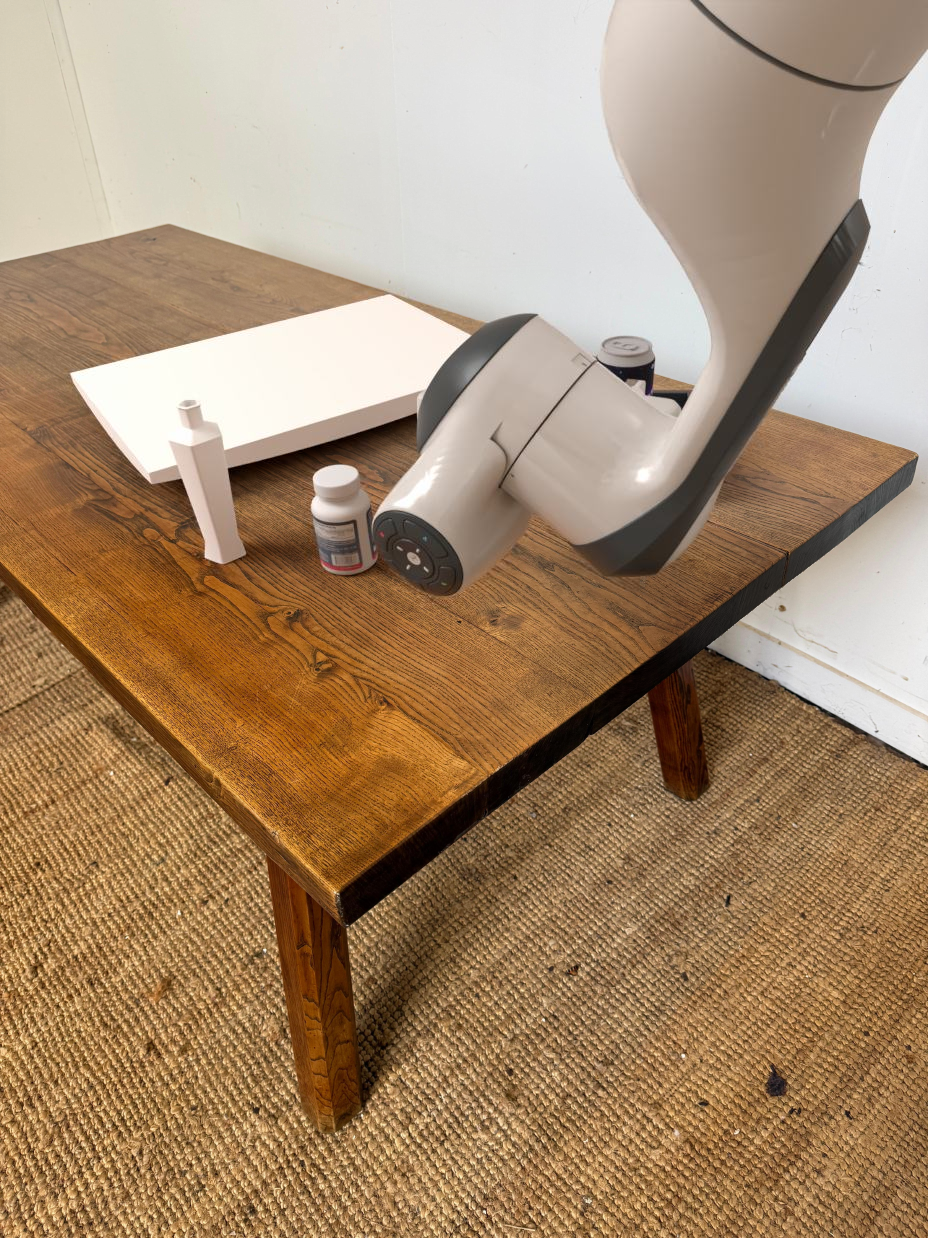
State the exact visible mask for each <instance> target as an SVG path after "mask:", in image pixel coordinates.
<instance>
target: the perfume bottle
mask: <svg viewBox="0 0 928 1238" xmlns="http://www.w3.org/2000/svg"><path fill="white" fill-rule="evenodd" d="M200 405H201V402H200V400H199V399H198V398H195V399H183V400H181V401H180V402H179V403H177V404H176V405H175V407H176V408H177V409H178V412H179V416H180V420H181V424H182V426H181V427H180V428H179V429H178V430H177V431H176V432H175V433H174V434H172V435H171V436H170V437H169V438H168V441H169V444H170V447H171V449H172V452H173V455H174V458H175V460H176V463H177V466H178V469H179V471H180V474H181V477H182V478H181V480H182V482H183V485H184V488H185V490H186V491H185V492H186V494H187V496H188V499H189V502H190V505H191V507H192V510H193V513H194V516H195V518H196V521H197V524H198V527H199V529H200V532H201V535H202V537H203V540H204V559H206V560H209V561H212V562H214V563H218V564H220V565H225V564H229V563H230V562H233V561H235V560H237V559H239V558H242V557H244V556H246V555H247V552H246V549H245V545H244V543H243V542H242V539H241V538H240V536H239V535H240V534H239V531H238V526H237V518H236V513H235V505H234V501H233V500H234V499H233V493H232V489H231V482H230V477H229V475H230V474H229V470H228V469H229V468H227V463H226V457H225V451H224V445H223V439H222V434H221V431H220V429H219V426H218V424H217V423H216V422H210V421H204V420H203V416H202V412H201V408H200Z"/></svg>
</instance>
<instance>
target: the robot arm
mask: <svg viewBox="0 0 928 1238" xmlns="http://www.w3.org/2000/svg"><path fill="white" fill-rule="evenodd" d="M603 37H604V38H603V43H602V47H601V52H600V60H599V71H598V73H599V74H598V75H599V76H598V77H599V80H598V82H599V93H600V101H601V109H602V116H603V120H604V125H605V129H606V133H607V136H608V137H607V138H608V141H609V144H610V147H611V150H612V153H613V156H614V159H615V161H616V163H617V166H618V168H619V170H620V172H621V176H622V177H623V179H624V181H625V183H626V185H627V187H628V189H629V190H630V192H631V194H632V196H633V198H634V200H635V201H636V202H637V204H638V205H639V206H640V207H641V209H642V210H643V212H644V213H645V214H646V216H647V217H648V218H649V220H650V221H651V223H652V224H653V226H654V227H655V228H656V230H657V231H658V233H659V234H660V236H661V237H662V238H663V240H664V242H665V243H666V244H667V246H668V247H669V249H670V250H671V252H672V253H673V255H674V257H675V258H676V260H677V261H678V263H679V265H680V267H681V268H682V270H683V272H684V274H685V275H686V277H687V279H688V281H689V283H690V284H691V286H692V288H693V291H694V292H695V294H696V296H697V299H698V301H699V303H700V305H701V307H702V310H703V313H704V315H705V318H706V321H707V325H708V328H709V333H710V353H709V356H708V359H707V361H706V363H705V365H704V368H703V369H702V372H701V373H700V375H699V377H698V379H697V381H696V382H695V384H694V387H693V388H692V389H691V390H692V392H691V394H690V396H689V398H688V400H687V402H686V404H685V405H684V407H683V409H682V411H681V407H680V406H679V405H678V404H677V403H676V402H675V401H674V400H672V399H667V398H660V397H653V396H646V395H645V386H646V382H645V381H642V380H635V379H627V382H623V381H622V380H621V379H620V378H618V377H617V376H616V375H614V374H613V373H612V372H611V371H609V370H608V369H607V368H606V367H604V366H603V365H602V364H601V363H599V362H598V361H597V359H596V357H595V356H593V355H592V354H591V353H589V352H588V351H587V350H586V349H584V348H583V347H582V346H581V345H579V344H578V343H577V342H575V341H574V340H573V339H572V338H570V337H569V336H568V335H566V334H565V333H564V332H562V331H561V330H560V329H559V328H557V327H556V326H555V325H554V324H552V323H551V322H549V321H547V320H546V319H545V318H543V317H541V316H540V315H539V313H533V312H530V313H529V312H528V313H526V312H525V313H516V314H513V315H507V316H505V317H501V318H498V319H495V320H491V321H489V322H487V323H485V324H483V326H481V327H480V328H479V329H477V330H476V331H475V332H474V333H473V334H470V335H471V336H470V337H469V338H468V339H467V340H466V341H465V342H464V343H463V344H462V345H460V346H459V347H458V348H457V349H456V350H455V351H454V352H453V353H452V354H451V356H450V357H449V358H448V359H447V360H446V361H445V362H444V364H443V365H442V366H441V367H440V369H439V370H438V372H437V373H436V375H435V376H434V378H433V379H432V381H431V382H430V384H429V386H428V388H427V389H426V390H424V391H423V392H421V393H420V394H419V395H418V397H417V413H416V419H417V421H416V422H417V423H416V449H417V453H418V454H420V456H419V457H418V459H417V460H416V461H415V462H414V463H413V464H412V466H410V468H408V470H407V471H406V472H405V473H404V474H403V475H402V476H401V478H400V479H399V480H398V481H397V482H396V483H395V485H394V486H393V488H392V489H391V490H390V491H389V492H388V494H387V495H386V497H385V498H384V499H383V501H382V502H381V503H380V505H379V506H378V508H377V510H376V512H375V513H374V515H373V522H372V535H373V539H374V542H375V545H376V547H377V552H378V553H379V555H380V556H381V558H382V559H383V561H384V562H385V563H386V565H387V566H388V567H389V568H391V569H392V570H393V571H394V572H395V573H396V574H397V575H398V576H399V577H401V578H402V579H403V580H404V581H406V582H407V583H408V584H410V585H411V586H412V587H414V588H415V589H417V590H419V591H421V592H422V593H425V594H428V595H430V596H435V597H441V598H449V597H453V596H457V595H459V594H461V593H463V592H464V591H466V590H467V589H469V588H470V587H471V586H473V585H474V584H475V583H477V582H478V581H479V580H480V579H482V578H483V577H484V576H485V575H486V574H488V573H489V572H490V571H491V570H492V569H493V568H494V567H495V566H496V565H498V563H500V561H501V560H502V559H503V558H505V556H506V555H508V553H509V552H510V551H512V549H513V548H514V547H515V546H516V544H517V543H518V542H519V541H520V539H521V538H523V536H524V535H525V533H526V532H527V530H528V529H529V526H530V523H531V520H532V519H534V518H535V517H537V518H538V519H540V520H541V521H542V522H543V523H544V524H546V525H547V526H548V527H549V528H551V529H552V530H553V531H555V532H556V533H557V534H559V535H560V536H561V537H562V538H564V539H565V540H566V541H567V543H568V545H569V546H571V548H572V549H574V551H576V553H578V554H579V555H580V556H581V557H582V558H583V559H584V560H585V561H586V562H587V563H588V564H590V565H591V566H592V567H593V568H594V569H595V570H596V571H597V572H598V573H599V574H600V575H601V576H602V577H611V578H638V577H647V576H653V575H657V574H658V573H660V571H661V570H663V569H665V568H667V567H669V566H670V565H672V564H673V563H674V562H675V561H676V560H678V559H679V558H680V557H682V555H683V554H684V553H685V552H686V551H687V550H688V549H689V548H690V546H691V545H693V543H694V541H695V540H696V539H697V538H698V536H699V535H700V534H701V532H702V530H703V528H704V527H705V525H706V523H707V522H708V520H709V517H711V514H712V511H713V510H714V508H715V504H716V502H717V500H718V496H719V494H720V491H721V488H722V486H723V484H724V481H725V478H726V476H727V475H728V474H729V472H731V470H732V469H733V468H734V466H735V464H736V463H737V462H738V461H739V458H740V457H741V456H742V454H743V453H744V452H745V449H746V448H747V447H748V446H749V444H750V443H751V440H752V439H753V437H754V436H755V434H756V433H757V431H758V430H759V428H760V427H761V425H762V424H763V422H764V420H765V418H766V417H767V416H768V414H769V412H770V411H771V410H772V408H774V406H775V404H776V403H777V401H778V400H779V398H780V396H781V395H782V393H783V392H784V390H785V388H786V387H787V385H788V384H789V382H790V381H791V378H792V377H793V376H795V374H796V372H797V370H798V368H799V366H800V365H801V364H802V363H803V361H804V358H805V357H806V355H807V351H808V350H809V348H810V347H811V345H812V343H813V342H814V341H815V339H816V337H817V335H818V334H819V332H820V331H821V329H822V327H823V325H824V324H825V323H826V322H827V320H828V318H829V316H830V315H831V313H832V311H833V310H834V309H835V307H836V305H837V303H838V302H839V300H840V299H841V297H843V294H844V293H845V291H846V289H847V288H848V286H849V284H850V283H851V280H852V278H853V277H854V275H855V273H856V270H857V269H858V266H859V264H860V262H861V259H862V257H863V254H864V252H865V249H866V245H867V243H868V240H869V236H870V232H871V229H872V226H871V222H870V220H869V216H868V214H867V211H866V208H865V207H866V206H865V205H864V204H865V203H864V202H863V199H862V198H860V193H861V180H862V174H863V167H864V163H865V160H866V155H867V152H868V149H869V146H870V145H869V144H870V142H871V139H872V136H873V133H874V131H875V129H876V127H877V125H878V122H879V121H880V119H881V116H882V115H883V113H884V110H885V108H886V107H887V105H888V104H889V102H890V100H891V99H892V97H893V96H894V94H895V93H896V92H897V90H898V89H899V88H900V86H901V85H902V83H903V82H904V81H905V80H906V79H907V77H908V76H909V74H910V73H911V72H912V71H913V70H914V68H915V67H916V65H917V64H918V63H919V62H920V60H921V59H922V57H923V56H924V55H925V54H926V52H927V51H928V0H614V2H613V6H612V9H611V11H610V15H609V19H608V22H607V25H606V30H605V33H604V36H603Z"/></svg>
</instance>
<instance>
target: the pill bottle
mask: <svg viewBox="0 0 928 1238" xmlns="http://www.w3.org/2000/svg"><path fill="white" fill-rule="evenodd" d="M312 483H313V492H314V493H315V496H314V497H313V499H312V501H311V504H310V512H311V513H310V514H311V517H312V523H313V528H314V533H315V538H316V539H315V540H316V543H317V550H318V554H319V559H320V564H321V566H322V568H323V569H324V570H325V571H326V572H329V573H331V574H334V575H338V576H351V575H357V574H360V573H363V572H365V571H367V570H368V569H370V568H371V567H373V566H374V565H375V564H376V561H377V560H378V555H379V554H378V553H379V551H378V549H377V547H376V545H375V542H374V539H373V535H372V522H373V518H374V515H373V510H372V503H371V499H370V496H369V494H368V493H367V492H366V491H365V490H364V489H362V485H361V484H362V483H361V477H360V473H359V471H358V469H357V468H355V467H354V466H353V465H347V464H333V465H328V466H324V467H322V468H320V469H319V470H317V471H315V473H314V475H313V476H312Z"/></svg>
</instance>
